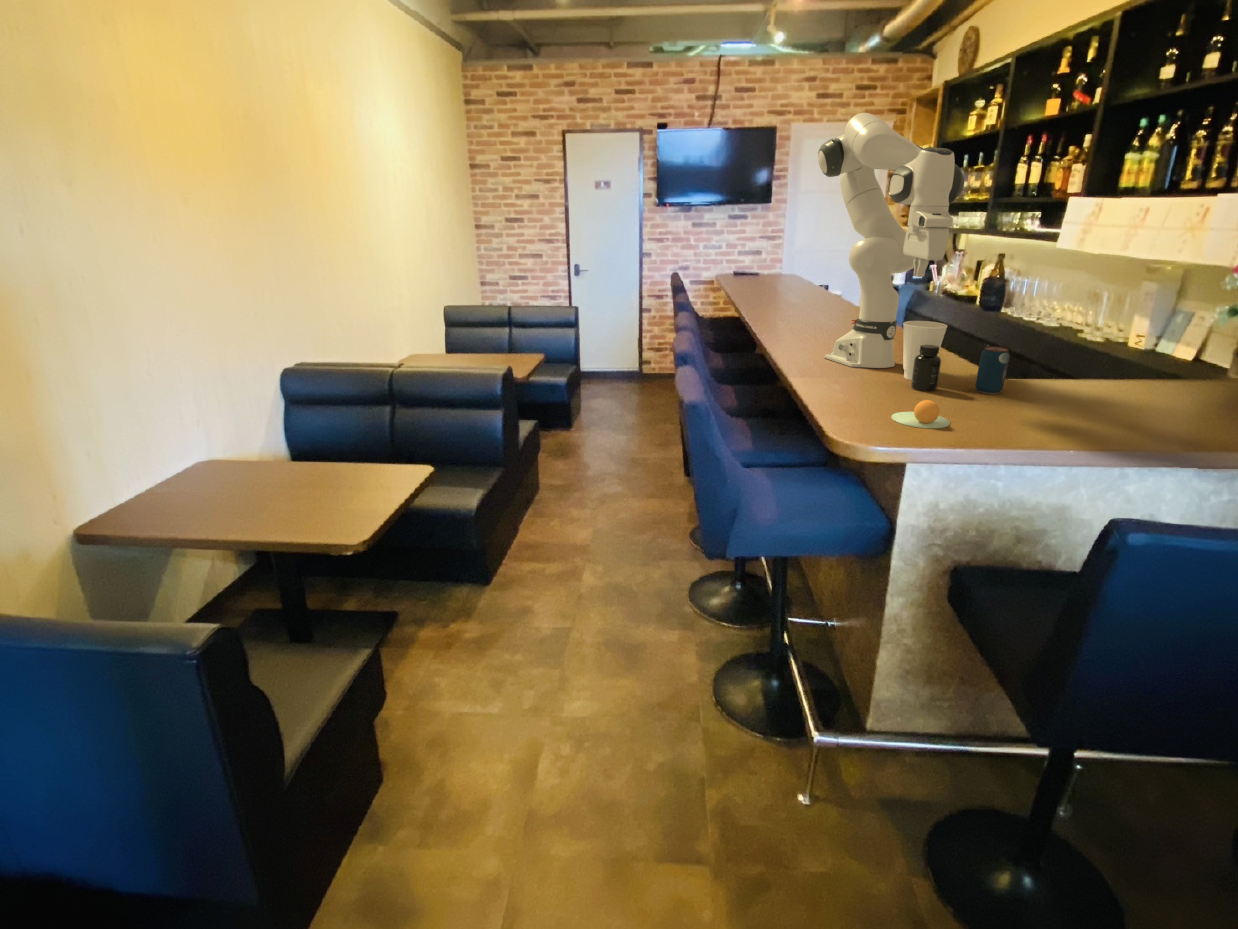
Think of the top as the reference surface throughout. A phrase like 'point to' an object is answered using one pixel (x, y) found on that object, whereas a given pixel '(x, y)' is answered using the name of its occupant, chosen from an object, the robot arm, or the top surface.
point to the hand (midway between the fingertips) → (918, 276)
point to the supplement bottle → (926, 369)
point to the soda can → (992, 370)
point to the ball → (926, 411)
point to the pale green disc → (910, 420)
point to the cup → (919, 341)
